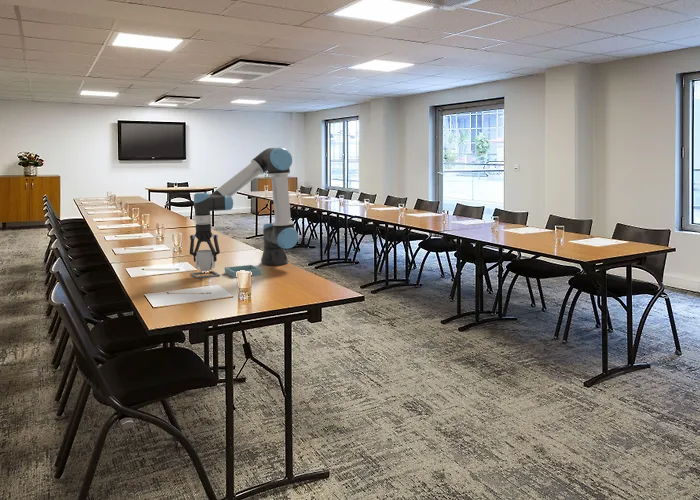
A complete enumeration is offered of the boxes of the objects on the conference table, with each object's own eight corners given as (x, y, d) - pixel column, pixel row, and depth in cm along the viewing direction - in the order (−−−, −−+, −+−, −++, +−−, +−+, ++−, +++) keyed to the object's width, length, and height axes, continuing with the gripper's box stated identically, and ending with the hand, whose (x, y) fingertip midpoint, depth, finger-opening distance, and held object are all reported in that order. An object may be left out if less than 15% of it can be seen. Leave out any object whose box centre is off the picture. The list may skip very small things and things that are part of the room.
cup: (215, 270, 297) (214, 251, 296) (199, 272, 293) (198, 252, 292) (211, 268, 304) (210, 249, 303) (195, 269, 300) (194, 250, 299)
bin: (251, 270, 312) (251, 264, 312) (261, 274, 299) (261, 269, 299) (224, 273, 305) (224, 267, 305) (233, 277, 292) (233, 271, 292)
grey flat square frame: (213, 272, 307) (213, 270, 307) (220, 276, 297) (220, 274, 296) (190, 274, 301) (190, 273, 301) (196, 278, 291) (196, 277, 291)
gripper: (180, 224, 292) (183, 269, 295) (221, 224, 291) (223, 269, 295) (185, 223, 299) (188, 266, 303) (224, 222, 298) (227, 266, 302)
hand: (205, 267), depth 299 cm, fingers closed on cup, 8 cm apart
